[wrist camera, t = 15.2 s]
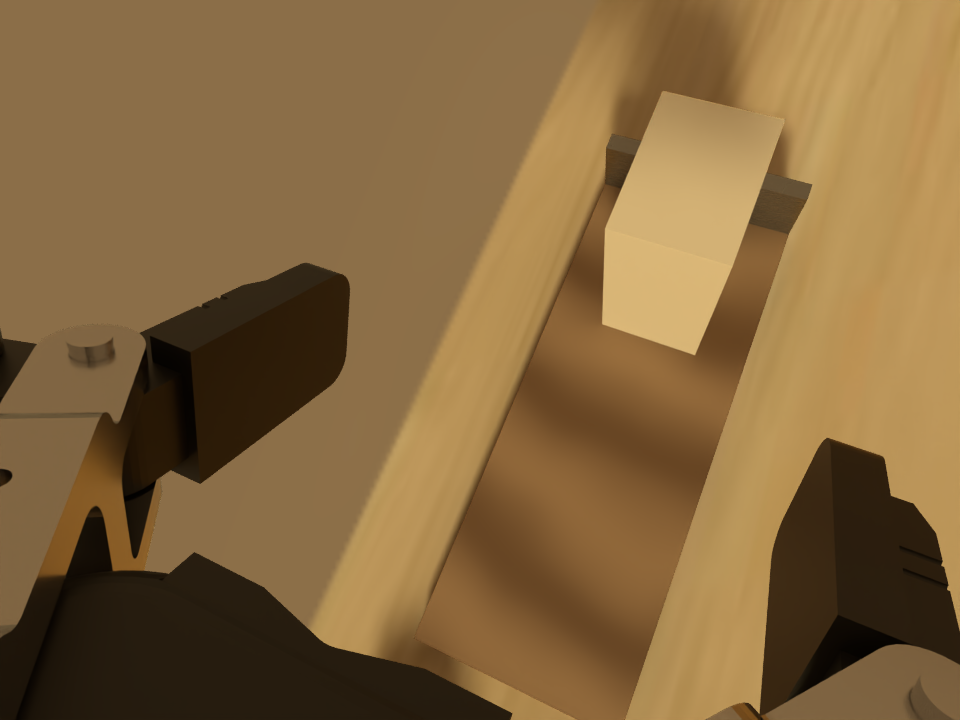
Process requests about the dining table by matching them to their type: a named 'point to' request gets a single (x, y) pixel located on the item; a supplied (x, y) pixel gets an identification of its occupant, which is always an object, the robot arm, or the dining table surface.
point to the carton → (683, 217)
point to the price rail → (772, 206)
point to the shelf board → (593, 490)
